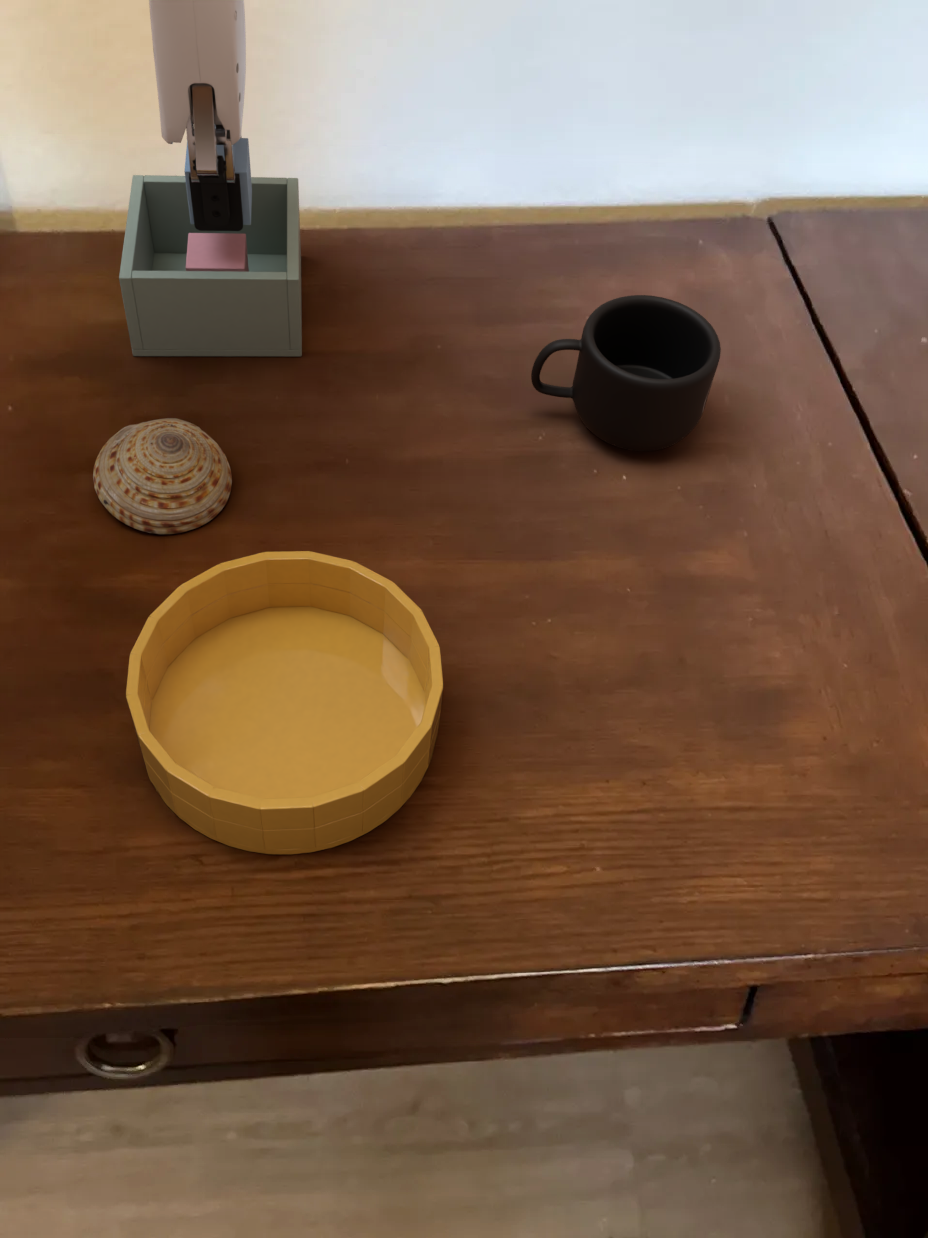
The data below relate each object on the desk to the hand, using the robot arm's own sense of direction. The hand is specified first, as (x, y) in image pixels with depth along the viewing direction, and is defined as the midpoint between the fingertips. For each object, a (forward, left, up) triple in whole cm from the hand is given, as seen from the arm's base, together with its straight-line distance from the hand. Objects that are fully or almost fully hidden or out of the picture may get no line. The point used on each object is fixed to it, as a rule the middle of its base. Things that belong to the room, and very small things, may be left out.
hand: (220, 204), depth 83 cm
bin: (-1, -1, -7) cm, 8 cm away
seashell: (-4, -19, -8) cm, 21 cm away
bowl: (+4, -37, -7) cm, 38 cm away
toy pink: (-1, -1, -7) cm, 7 cm away
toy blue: (0, 0, 0) cm, 0 cm away
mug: (+26, -13, -8) cm, 30 cm away
